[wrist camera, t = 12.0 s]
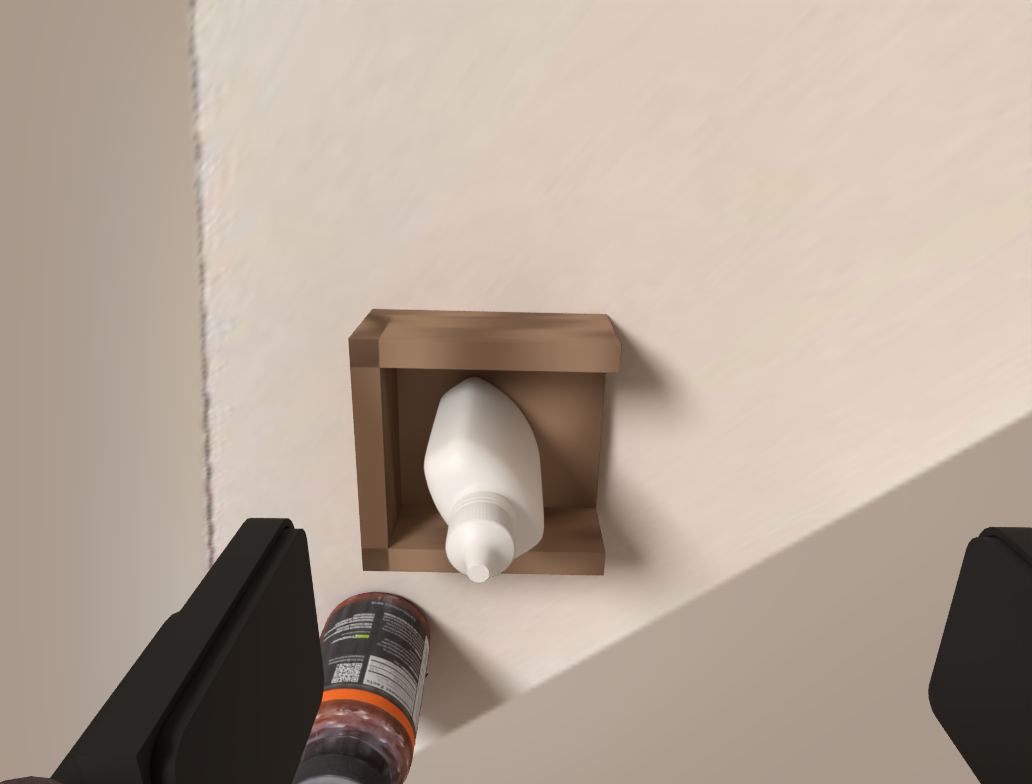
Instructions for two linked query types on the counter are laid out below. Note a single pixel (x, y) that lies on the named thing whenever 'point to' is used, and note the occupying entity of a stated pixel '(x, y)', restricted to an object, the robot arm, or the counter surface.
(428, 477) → the eye dropper bottle
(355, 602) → the supplement bottle
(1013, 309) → the counter surface
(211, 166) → the counter surface
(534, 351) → the open wooden box
